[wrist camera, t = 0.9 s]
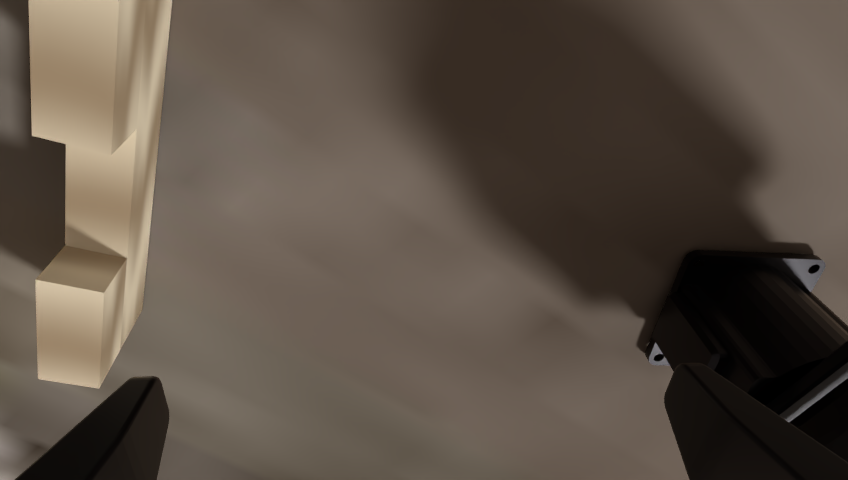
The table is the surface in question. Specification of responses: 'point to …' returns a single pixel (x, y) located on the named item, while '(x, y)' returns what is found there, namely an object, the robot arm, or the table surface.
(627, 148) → the table surface
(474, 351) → the table surface
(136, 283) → the birch rail
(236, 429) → the table surface
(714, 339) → the robot arm
